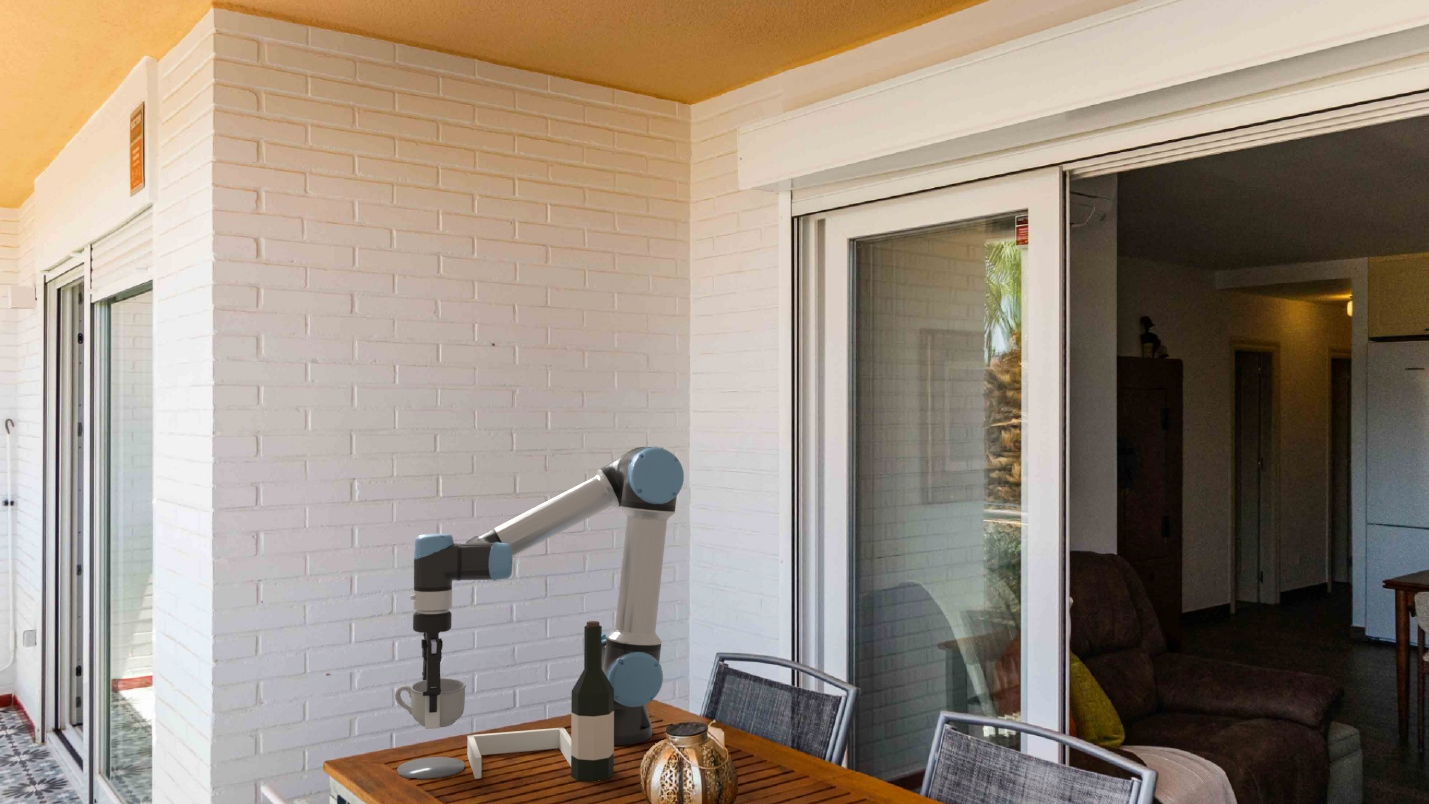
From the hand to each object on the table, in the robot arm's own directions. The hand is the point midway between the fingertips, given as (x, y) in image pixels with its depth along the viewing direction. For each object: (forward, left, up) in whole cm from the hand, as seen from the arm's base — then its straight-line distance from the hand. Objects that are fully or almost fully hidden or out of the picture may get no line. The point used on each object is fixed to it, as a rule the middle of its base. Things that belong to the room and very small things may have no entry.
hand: (430, 721), depth 217 cm
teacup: (0, -1, -1) cm, 1 cm away
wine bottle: (-30, +14, -10) cm, 35 cm away
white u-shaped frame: (-18, +1, -10) cm, 21 cm away
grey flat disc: (0, 0, -10) cm, 10 cm away
